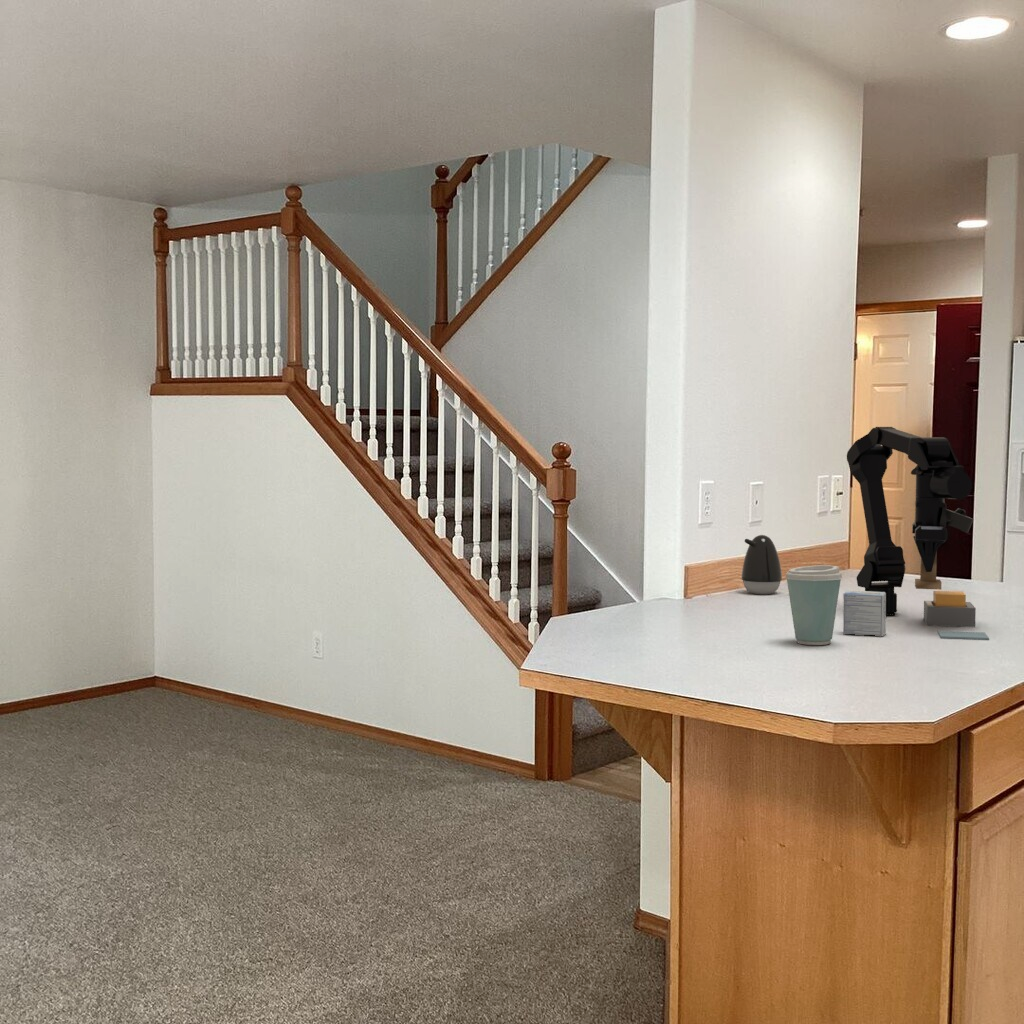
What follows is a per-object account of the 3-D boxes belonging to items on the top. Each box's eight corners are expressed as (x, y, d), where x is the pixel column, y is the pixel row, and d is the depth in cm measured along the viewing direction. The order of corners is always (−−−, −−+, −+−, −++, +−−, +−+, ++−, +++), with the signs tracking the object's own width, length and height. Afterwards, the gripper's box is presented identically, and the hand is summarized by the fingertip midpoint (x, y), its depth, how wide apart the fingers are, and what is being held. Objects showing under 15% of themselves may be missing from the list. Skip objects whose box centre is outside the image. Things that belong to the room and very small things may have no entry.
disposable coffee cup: (802, 648, 221) (803, 570, 221) (774, 639, 232) (775, 564, 231) (851, 646, 224) (852, 568, 223) (822, 637, 235) (823, 562, 234)
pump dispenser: (732, 592, 305) (733, 534, 304) (765, 590, 310) (765, 532, 309) (756, 596, 296) (757, 537, 295) (789, 594, 300) (790, 535, 300)
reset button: (935, 609, 250) (935, 594, 250) (933, 606, 256) (933, 590, 256) (965, 610, 249) (965, 595, 248) (962, 607, 254) (962, 591, 254)
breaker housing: (927, 625, 249) (927, 605, 249) (923, 618, 258) (923, 599, 258) (975, 626, 247) (975, 607, 246) (969, 620, 256) (970, 601, 256)
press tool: (916, 588, 245) (916, 548, 245) (915, 585, 250) (915, 546, 250) (941, 589, 244) (942, 549, 243) (939, 586, 249) (940, 546, 248)
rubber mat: (940, 638, 233) (940, 636, 233) (937, 632, 239) (937, 630, 239) (989, 640, 230) (989, 637, 230) (984, 634, 237) (984, 632, 237)
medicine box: (886, 634, 238) (886, 591, 238) (883, 637, 234) (883, 594, 234) (846, 631, 242) (846, 590, 241) (842, 634, 238) (843, 592, 237)
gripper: (975, 500, 234) (973, 577, 236) (967, 495, 252) (965, 567, 253) (916, 499, 238) (914, 575, 239) (912, 494, 256) (911, 565, 257)
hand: (928, 570), depth 247 cm, fingers closed on press tool, 3 cm apart
